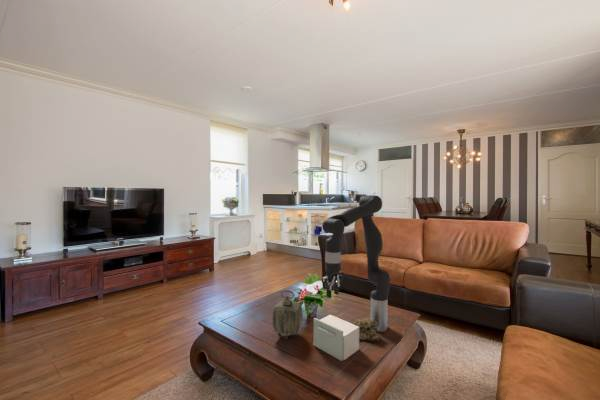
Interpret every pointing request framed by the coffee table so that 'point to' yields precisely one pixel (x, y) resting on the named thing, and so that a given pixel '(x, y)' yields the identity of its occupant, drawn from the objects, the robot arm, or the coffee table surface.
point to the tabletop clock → (287, 316)
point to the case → (345, 334)
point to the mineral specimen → (367, 329)
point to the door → (328, 338)
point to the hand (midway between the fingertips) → (332, 295)
